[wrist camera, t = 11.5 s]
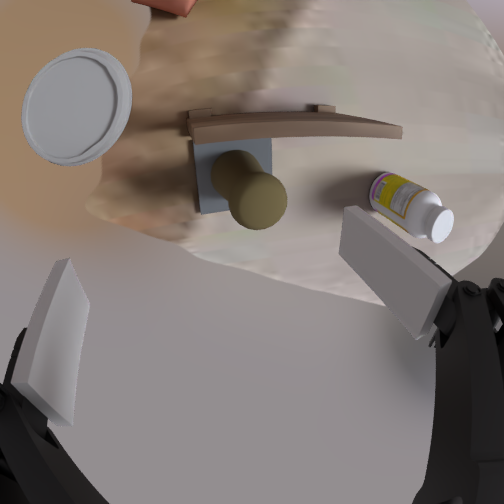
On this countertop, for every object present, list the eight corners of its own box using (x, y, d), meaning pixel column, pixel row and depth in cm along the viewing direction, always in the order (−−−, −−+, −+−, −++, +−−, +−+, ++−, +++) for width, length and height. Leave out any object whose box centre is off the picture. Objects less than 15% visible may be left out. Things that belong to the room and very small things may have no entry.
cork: (269, 161, 33) (309, 189, 24) (247, 205, 35) (277, 248, 26) (223, 141, 30) (247, 160, 21) (202, 188, 32) (215, 228, 23)
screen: (185, 111, 28) (192, 115, 17) (332, 105, 31) (403, 117, 21) (187, 136, 29) (196, 157, 19) (332, 128, 33) (400, 148, 22)
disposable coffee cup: (102, 49, 21) (66, 25, 11) (163, 94, 26) (157, 88, 16) (52, 118, 23) (-1, 131, 13) (110, 161, 28) (80, 193, 18)
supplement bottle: (401, 201, 42) (457, 236, 31) (371, 217, 42) (425, 259, 31) (396, 164, 38) (458, 194, 27) (363, 180, 38) (425, 216, 27)
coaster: (192, 140, 30) (193, 140, 29) (269, 133, 32) (271, 133, 31) (200, 212, 34) (201, 214, 34) (271, 202, 36) (272, 204, 36)
